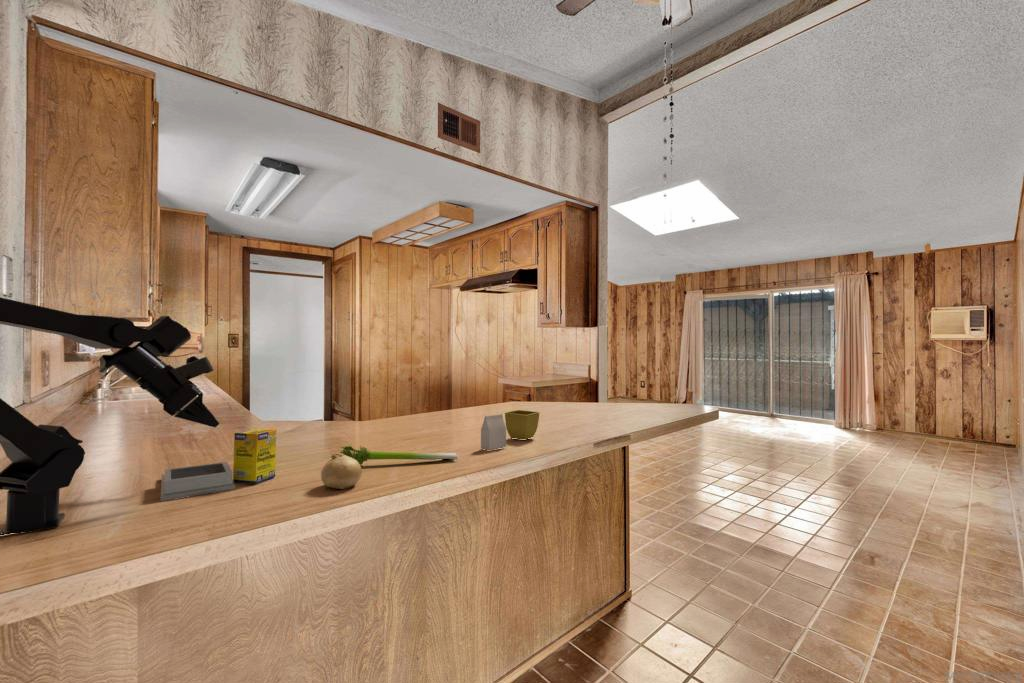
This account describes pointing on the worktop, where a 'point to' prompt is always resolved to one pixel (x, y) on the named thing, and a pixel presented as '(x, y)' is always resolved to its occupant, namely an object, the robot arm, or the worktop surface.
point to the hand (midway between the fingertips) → (215, 422)
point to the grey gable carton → (493, 432)
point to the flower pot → (521, 423)
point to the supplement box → (254, 456)
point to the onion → (341, 472)
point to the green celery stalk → (392, 455)
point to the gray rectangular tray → (196, 480)
